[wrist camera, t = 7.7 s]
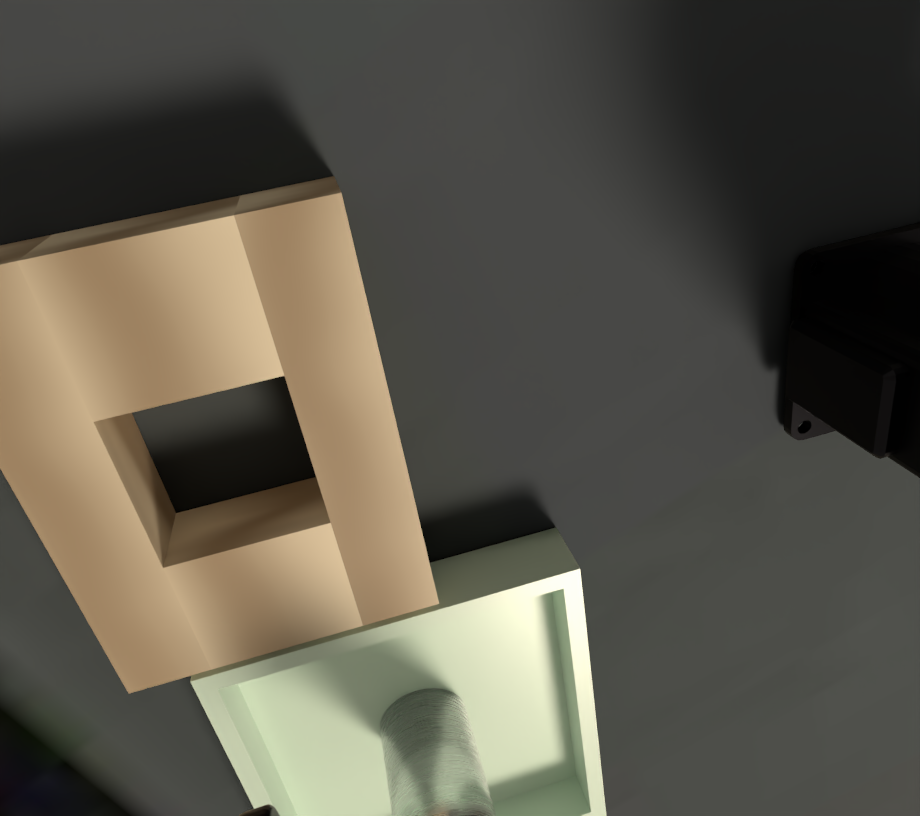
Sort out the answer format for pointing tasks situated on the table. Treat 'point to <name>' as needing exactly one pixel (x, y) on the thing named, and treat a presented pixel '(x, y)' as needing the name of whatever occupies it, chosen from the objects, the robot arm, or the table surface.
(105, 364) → the block
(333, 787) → the tray
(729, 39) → the table surface
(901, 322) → the robot arm
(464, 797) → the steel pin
